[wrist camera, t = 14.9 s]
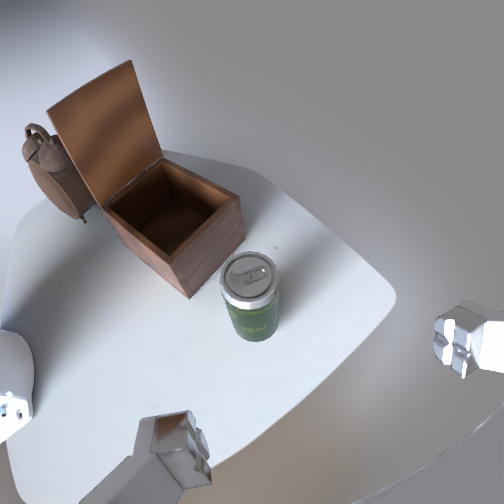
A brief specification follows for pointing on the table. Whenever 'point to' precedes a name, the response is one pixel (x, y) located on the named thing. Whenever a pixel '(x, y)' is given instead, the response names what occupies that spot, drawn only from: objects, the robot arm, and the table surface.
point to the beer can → (252, 295)
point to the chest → (177, 223)
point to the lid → (107, 131)
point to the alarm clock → (56, 172)
